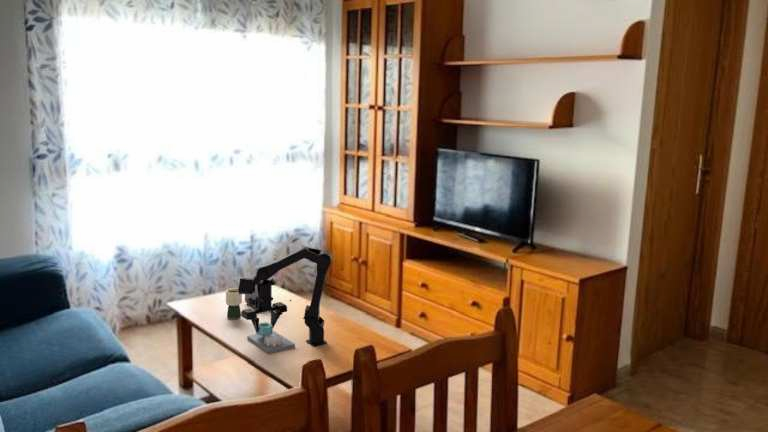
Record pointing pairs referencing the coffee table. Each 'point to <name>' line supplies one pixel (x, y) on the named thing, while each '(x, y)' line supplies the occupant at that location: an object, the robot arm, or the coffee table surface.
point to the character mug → (233, 303)
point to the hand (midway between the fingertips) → (264, 330)
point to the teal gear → (265, 329)
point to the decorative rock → (252, 295)
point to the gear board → (269, 348)
